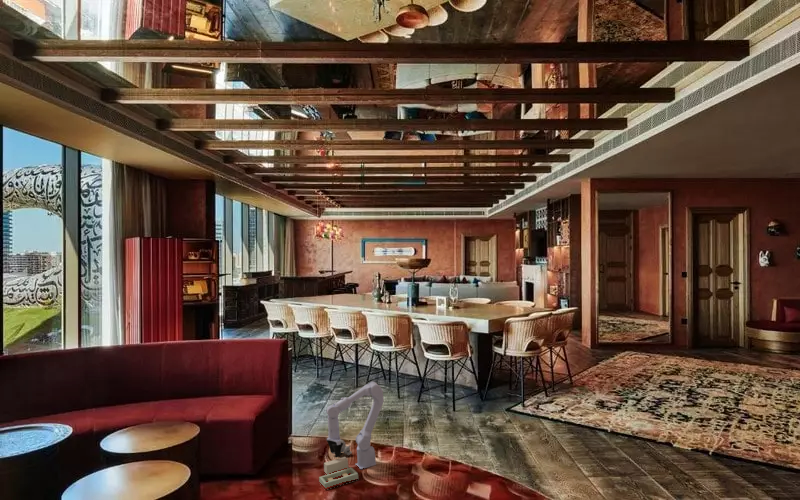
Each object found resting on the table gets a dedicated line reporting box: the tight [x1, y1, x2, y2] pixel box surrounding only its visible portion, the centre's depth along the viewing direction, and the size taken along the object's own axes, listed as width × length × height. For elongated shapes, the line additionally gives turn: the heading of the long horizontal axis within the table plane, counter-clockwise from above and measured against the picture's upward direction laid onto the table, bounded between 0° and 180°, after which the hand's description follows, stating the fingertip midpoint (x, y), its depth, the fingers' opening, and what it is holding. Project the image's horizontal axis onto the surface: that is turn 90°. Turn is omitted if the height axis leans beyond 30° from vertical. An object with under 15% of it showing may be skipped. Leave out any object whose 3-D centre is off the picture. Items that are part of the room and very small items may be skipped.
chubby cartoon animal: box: [331, 438, 352, 456], centre depth 249 cm, size 7×12×8 cm, turn 67°
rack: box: [318, 467, 359, 488], centre depth 217 cm, size 18×9×3 cm, turn 118°
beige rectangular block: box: [323, 456, 349, 475], centre depth 229 cm, size 12×4×5 cm, turn 119°
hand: (335, 454), depth 229 cm, fingers open, 7 cm apart
